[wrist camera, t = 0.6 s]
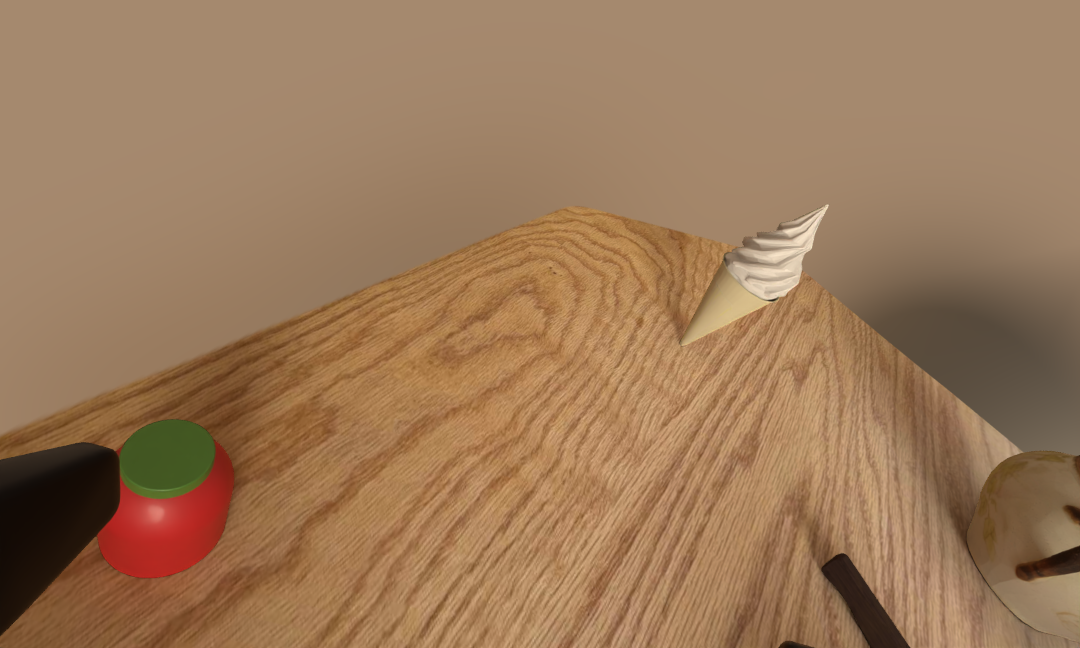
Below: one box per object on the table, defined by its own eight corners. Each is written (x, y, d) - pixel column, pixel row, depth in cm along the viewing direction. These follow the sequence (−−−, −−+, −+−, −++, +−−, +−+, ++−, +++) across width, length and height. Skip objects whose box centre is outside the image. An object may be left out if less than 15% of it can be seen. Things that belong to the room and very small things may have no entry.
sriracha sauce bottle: (160, 601, 18) (163, 541, 15) (68, 536, 18) (50, 461, 15) (249, 512, 21) (268, 446, 18) (170, 456, 21) (174, 379, 18)
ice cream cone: (703, 380, 42) (862, 240, 32) (651, 341, 42) (795, 191, 32) (710, 346, 46) (855, 212, 36) (663, 311, 46) (795, 169, 36)
